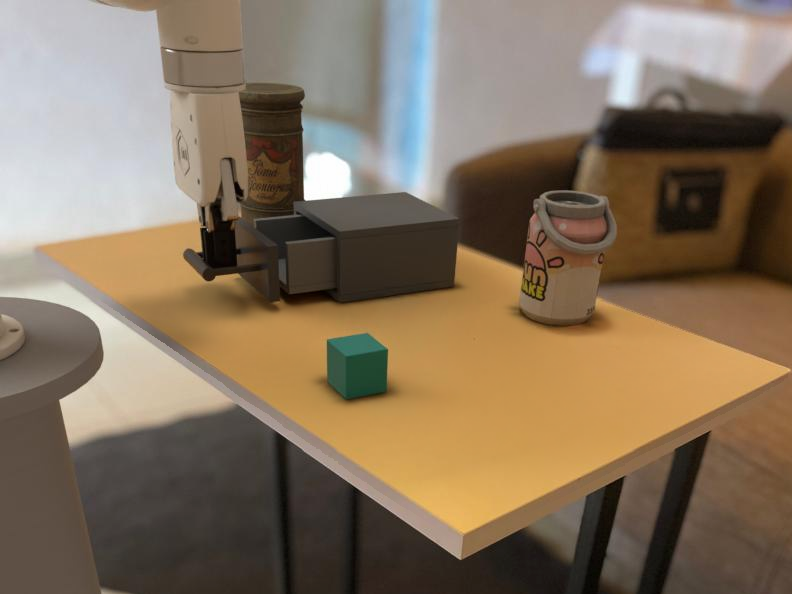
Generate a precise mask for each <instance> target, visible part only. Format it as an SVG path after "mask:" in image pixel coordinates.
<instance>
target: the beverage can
mask: <svg viewBox="0 0 792 594" xmlns="http://www.w3.org/2000/svg"><path fill="white" fill-rule="evenodd" d="M608 198H609V197H607V196H606V195H596V194H594V193H590V192H584V191H579V190H578V191H577V190H565V189H564V190H550V191H546V192H544V193H542V194H540V195H539V198H535V199H534V200H533V205H532V206H533V211H534V213H533V215H532V216H531V217H530V219H529V222H528V230H527V237H526V245H525V246H526V247H525V254H524V262H523V271H522V277H521V286H520V293H519V301H518V302H519V303H518V304H519V305H518V306H519V308H520V310H521V311H522V312H523V314H524V315H525V316H526V317H527V318H529V319H530V320H532V321H535V322H537V323H541V324H545V325H550V326H559V327H560V326H562V327H563V326H566V327H567V326H576V325H580V324H582V323H584V322H586V321H587V320H588V319H590V317H591V316H592V315H593V314H594V312H595V311H596V310H595V309H596V305H597V298H598V292H599V286H600V282H601V275H602V270H603V265H604V259H605V253H606V251H607V250H609V249H611V248H612V246H613V245H614V243H615V241H616V240H617V237H618V236H617V235H618V234H617V233H618V232H617V231H618V225H617V222H616V219H615V217H614V214H613V213H612V210H611V208H610V201H609V199H608Z"/></svg>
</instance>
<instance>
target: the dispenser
mask: <svg viewBox="0 0 792 594" xmlns="http://www.w3.org/2000/svg"><path fill="white" fill-rule="evenodd" d="M293 204H294V215H300V214H302V215H304V216H305V217H307V218H308V219H310V220H311V221H313V222H315V223H316V224H318V225H319V226H321V227H322V228H324V229H325V230H327V231H328V232H330V233H331V234H333V235H334V236H336V237H337V288H333V289H325V290H323V291H324V292H325V293H327V294H328V295H329V296H331V297H332V298H333V299H335V300H336V301H337V302H338V303H349V302H355V301H362V300H368V299H376V298H382V297H390V296H397V295H403V294H404V295H405V294H410V293H419V292H425V291H431V290H432V291H433V290H439V289H444V288H452V287H455V282H456V279H455V278H456V269H457V259H458V258H457V257H458V246H459V232H460V231H459V230H460V222H461V221H460V220H461V219H460V218H459V217H457V216H455V215H453V214H451V213H449V212H447V211H445V210H443V209H441V208H439V207H437V206H434V205H433V204H432V203H429V202H426V201H425V200H423V199H421V198H419V197H416V196H415V195H414V194H413V195H412V193H408V192H407V191H400V192H389V193H388V192H387V193H378V194H366V195H355V196H344V197H331V198H320V199H309V200H305V201H296V202H293Z"/></svg>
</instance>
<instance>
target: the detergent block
mask: <svg viewBox="0 0 792 594" xmlns="http://www.w3.org/2000/svg"><path fill="white" fill-rule="evenodd" d="M388 361H389V348H388V347H386V346H385V345H384V344H382V343H381V342H380V341H379V340H378V339H376V338H375V337H374V336H373V335H372V334H370V333H369V332H362V333H358V334H351V335H345V336H339V337H338V336H337V337H332V338H327V339H326V382H327V383H328V384H329V385H330V386H331V387H332V388H333V389H334V390H335V391H336V392H338V393H339V394H340V396H341V397H342V398H343V399H345V400H351V399H355V398H360V397H365V396H371V395H375V394H382V393H386V392H387V391H388V364H389V363H388Z"/></svg>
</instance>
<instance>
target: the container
mask: <svg viewBox="0 0 792 594" xmlns="http://www.w3.org/2000/svg"><path fill="white" fill-rule="evenodd" d="M245 84H246V89H245V90H244V91H240V92H239V99H240V106H241V113H242V121H243V129H244V138H245V147H246V158H247V172H248V197H247V199H246V201H245V202H244V203H239V205H240V217H241V218H242V219H244V220H245V221H246V222H248V223H249V224H250V225H252V226H253V227H254V219H258V218H268V217H279V216H289V215H294V204H293V202H296V201H306V199H305V183H304V181H305V179H304V177H305V176H304V140H303V139H304V138H303V137H304V135H303V133H304V128H303V122H302V121H303V119H302V112H303V108H304V106H303V104H301V102H303V101H304V99H305V97H306V94H305V90H304V88H303V87H301V86H297V85H293V84H285V83H278V82H277V83H275V82H245Z"/></svg>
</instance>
